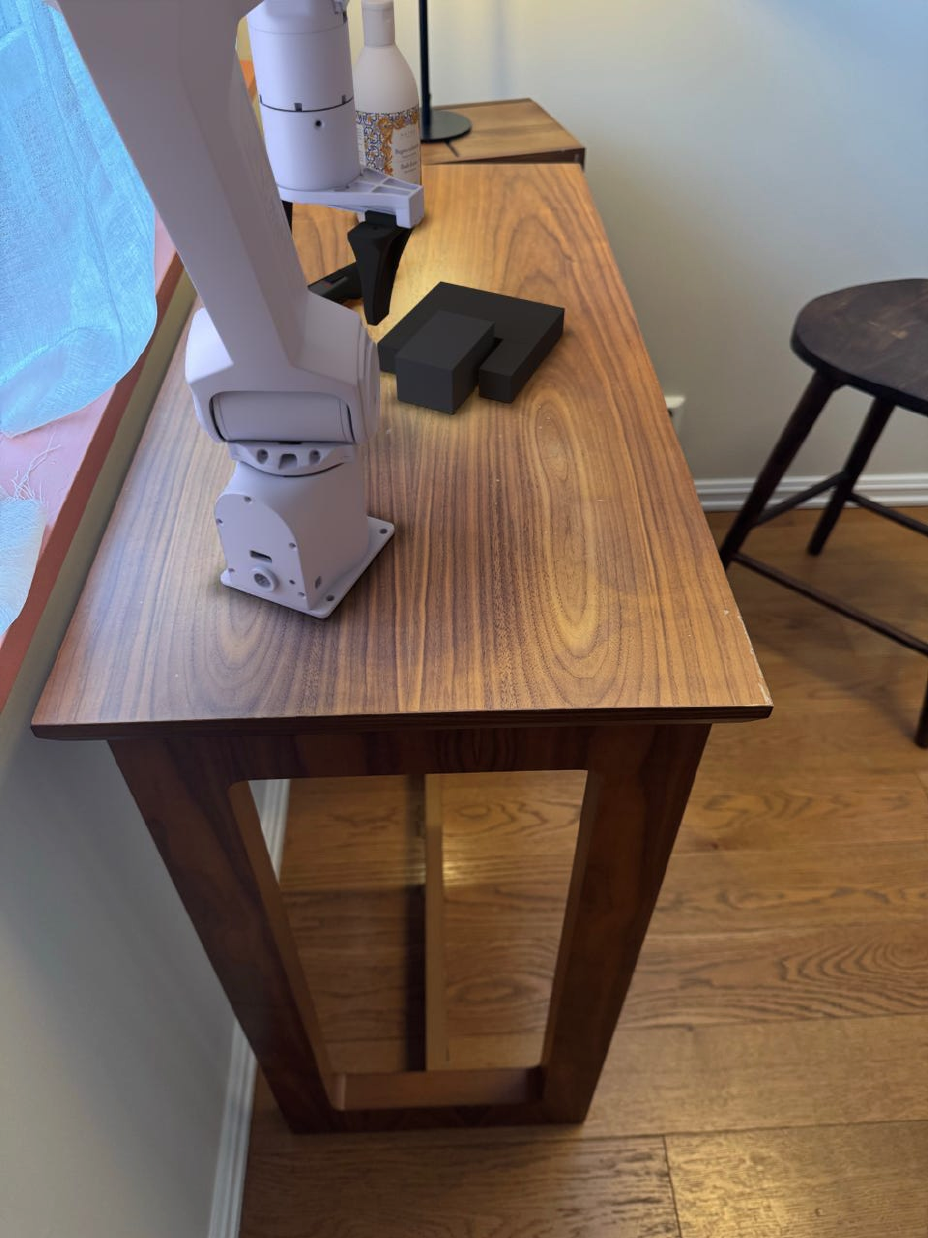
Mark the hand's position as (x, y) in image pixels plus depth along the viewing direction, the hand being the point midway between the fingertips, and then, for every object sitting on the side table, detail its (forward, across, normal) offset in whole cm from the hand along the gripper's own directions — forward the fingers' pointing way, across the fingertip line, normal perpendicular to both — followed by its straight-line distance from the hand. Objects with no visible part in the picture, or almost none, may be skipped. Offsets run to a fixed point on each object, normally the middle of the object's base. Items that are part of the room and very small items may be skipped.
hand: (331, 307), depth 65 cm
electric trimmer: (+10, +10, -16) cm, 21 cm away
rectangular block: (+9, -5, -8) cm, 13 cm away
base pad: (+9, -5, -14) cm, 17 cm away
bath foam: (+10, +14, -34) cm, 38 cm away
